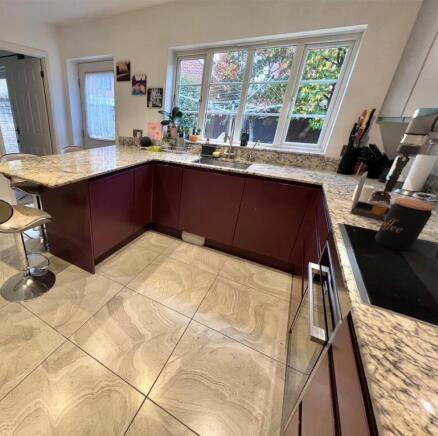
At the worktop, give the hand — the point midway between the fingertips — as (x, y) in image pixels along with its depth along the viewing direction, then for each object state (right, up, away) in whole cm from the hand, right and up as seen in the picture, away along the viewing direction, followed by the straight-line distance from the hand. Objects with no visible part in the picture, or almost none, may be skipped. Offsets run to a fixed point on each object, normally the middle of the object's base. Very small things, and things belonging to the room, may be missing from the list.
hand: (388, 189), depth 115 cm
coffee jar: (-22, -25, -22) cm, 40 cm away
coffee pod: (-1, -13, +5) cm, 14 cm away
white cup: (+8, -5, +25) cm, 27 cm away
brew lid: (-7, +1, +7) cm, 10 cm away
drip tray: (-2, -13, +7) cm, 15 cm away
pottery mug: (+21, -5, +26) cm, 34 cm away
